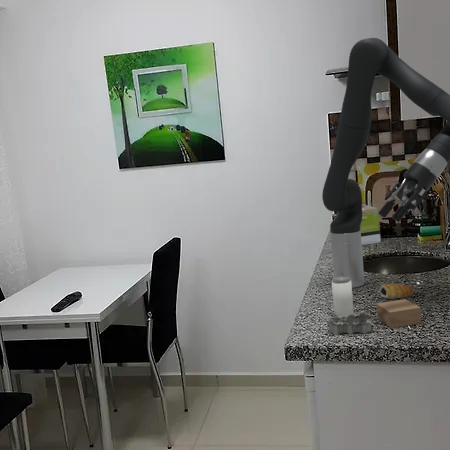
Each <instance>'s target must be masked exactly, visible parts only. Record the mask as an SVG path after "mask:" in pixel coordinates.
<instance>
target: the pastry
mask: <svg viewBox="0 0 450 450" xmlns="http://www.w3.org/2000/svg"><path fill="white" fill-rule="evenodd" d="M414 292H415V291H414V288H413V287H412V286H411V285H408V284H402V283H395V282H392V283H386V284H382V285H380V288H379V292H378V293H379V295H380V297H382V298H385V299H387V300H395V299H397V298H398V299H403V298H406V297H410V296H412V295H413V294H414Z"/></svg>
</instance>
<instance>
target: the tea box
mask: <svg viewBox="0 0 450 450" xmlns="http://www.w3.org/2000/svg"><path fill="white" fill-rule="evenodd" d="M379 211H380V210H379V208H378V207H375V206H371V205H367V204H365V203H362V222H361V225H360V229H361V242H362V246H366V245H372V244H378V243H381V242H382V241H381V227H380V226H381V225H380V214H379Z"/></svg>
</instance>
